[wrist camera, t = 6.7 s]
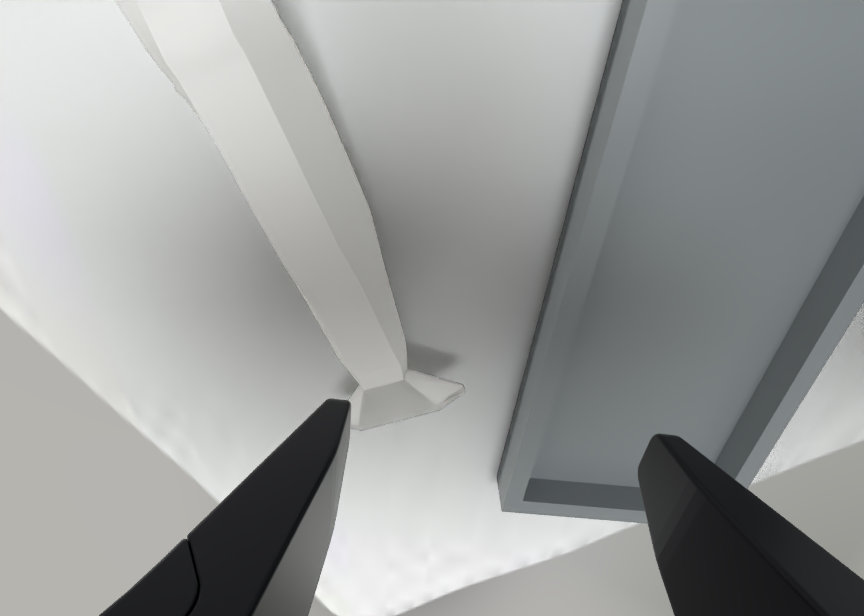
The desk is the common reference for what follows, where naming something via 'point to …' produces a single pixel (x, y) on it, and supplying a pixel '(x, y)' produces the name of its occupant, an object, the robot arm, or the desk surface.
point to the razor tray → (696, 250)
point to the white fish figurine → (293, 184)
